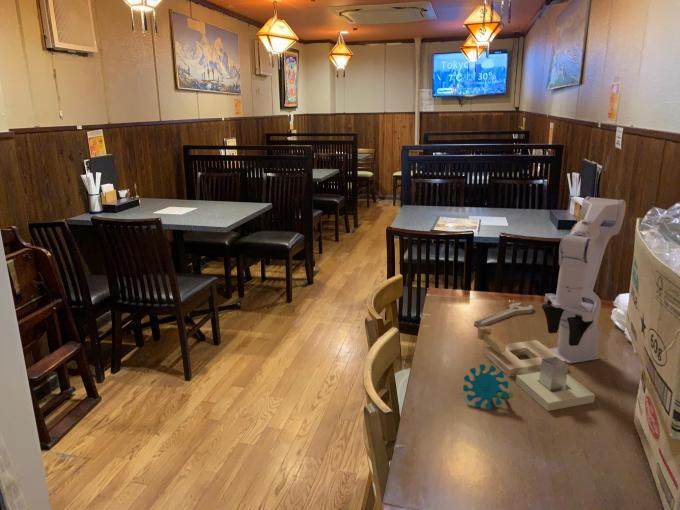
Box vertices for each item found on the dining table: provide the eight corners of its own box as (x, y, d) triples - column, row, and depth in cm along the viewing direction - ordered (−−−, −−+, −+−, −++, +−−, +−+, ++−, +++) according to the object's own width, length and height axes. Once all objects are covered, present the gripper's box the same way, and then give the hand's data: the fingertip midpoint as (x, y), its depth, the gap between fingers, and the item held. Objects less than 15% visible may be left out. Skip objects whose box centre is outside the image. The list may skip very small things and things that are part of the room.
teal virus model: (455, 395, 113) (472, 356, 116) (458, 402, 118) (475, 364, 121) (503, 417, 108) (520, 375, 111) (505, 423, 113) (521, 383, 116)
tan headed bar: (487, 335, 138) (488, 326, 137) (507, 351, 129) (508, 341, 129) (477, 337, 138) (478, 327, 137) (496, 353, 129) (497, 342, 128)
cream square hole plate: (558, 375, 124) (559, 368, 124) (593, 402, 113) (594, 394, 113) (515, 382, 121) (516, 375, 121) (547, 410, 110) (548, 403, 110)
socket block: (535, 346, 139) (536, 339, 139) (564, 367, 128) (565, 360, 127) (483, 354, 135) (483, 347, 135) (508, 376, 124) (509, 369, 124)
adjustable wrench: (478, 329, 151) (479, 324, 150) (463, 322, 156) (464, 317, 156) (535, 311, 163) (536, 306, 162) (520, 305, 168) (520, 300, 168)
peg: (552, 386, 119) (556, 356, 117) (564, 395, 116) (568, 364, 113) (538, 389, 119) (541, 359, 116) (549, 398, 115) (553, 367, 112)
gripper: (537, 277, 125) (530, 328, 128) (577, 295, 112) (569, 352, 115) (561, 276, 127) (554, 326, 130) (604, 294, 113) (595, 350, 117)
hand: (562, 338), depth 123 cm, fingers open, 7 cm apart
